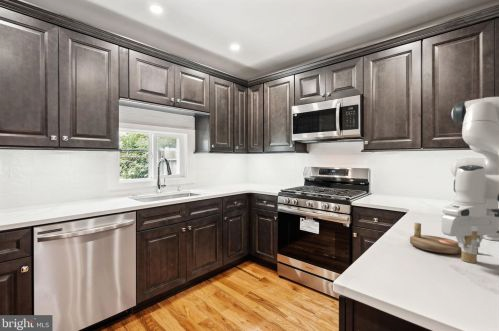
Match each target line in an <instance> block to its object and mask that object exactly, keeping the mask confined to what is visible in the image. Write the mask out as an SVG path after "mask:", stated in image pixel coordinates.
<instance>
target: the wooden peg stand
mask: <svg viewBox="0 0 499 331" xmlns="http://www.w3.org/2000/svg"><path fill="white" fill-rule="evenodd" d="M413 234H414V235H410V237H409V243H410V244H411V245H412V246H414V247H415V248H419V249H421V250H425V251H429V252H433V253H434V252H435V253H440V254H452V255H453V254H455V255H456V254H461V253H462V250H461V247H459V242H458V240H453V239H451V238H446V237H441V236H435V235H427V234H422V224H421V223H420V222H414V232H413Z"/></svg>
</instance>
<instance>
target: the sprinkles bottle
mask: <svg viewBox="0 0 499 331" xmlns="http://www.w3.org/2000/svg"><path fill="white" fill-rule="evenodd" d="M471 231H473V232H472V235H471V236H465V239H463V240H464V242H465V243H467V247H466V248H461V250H462V253H460V254H461V257H460V260H462V261H463V262H465V263H469V264H477V263H478V260H477V259H478V254H477V231H478V226H472V227H471Z"/></svg>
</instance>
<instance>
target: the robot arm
mask: <svg viewBox="0 0 499 331" xmlns="http://www.w3.org/2000/svg"><path fill="white" fill-rule="evenodd" d="M451 118H452V121H453V122H454V123H455V124H459V125H462V129H461V136H462V137H461V138H462V139H463V141H464V142H465V144H467V145H468V146H469V148H470V150H471V151H473V152H475V153H477V154H480V155H483V156H484V158H483V157H479V158H478V157H472V158H471V157H466V158H465V157H464V158H460V159H456V160H454V161H453V162H452V164H451V166H450V172H451V174H452V176H453V177H454V178H455V179H454V180H453V192H455V197H454V202H453V203H452V204H449V205H447V206H444V207H442V209H441V210H442V213H443V215H442V217H441V232H442V234H443V235H445V236H448V237H455V238H456V241H457V242H459V247H461V248H466V247H467V243H465V242H464V240H463V239H465V236H471V235H472V232H473V231H471V227H472V226H478V231H477V247H478V248H481V244H482V243H481V242H482V241H483V239H485V240H490V241H497V242H498V241H499V96H491V97H490V96H489V97H483V98H476V99H471V100H466V101H465V100H463V101H460V102H456V103H455V104H454V105H453V107H452V110H451Z"/></svg>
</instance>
